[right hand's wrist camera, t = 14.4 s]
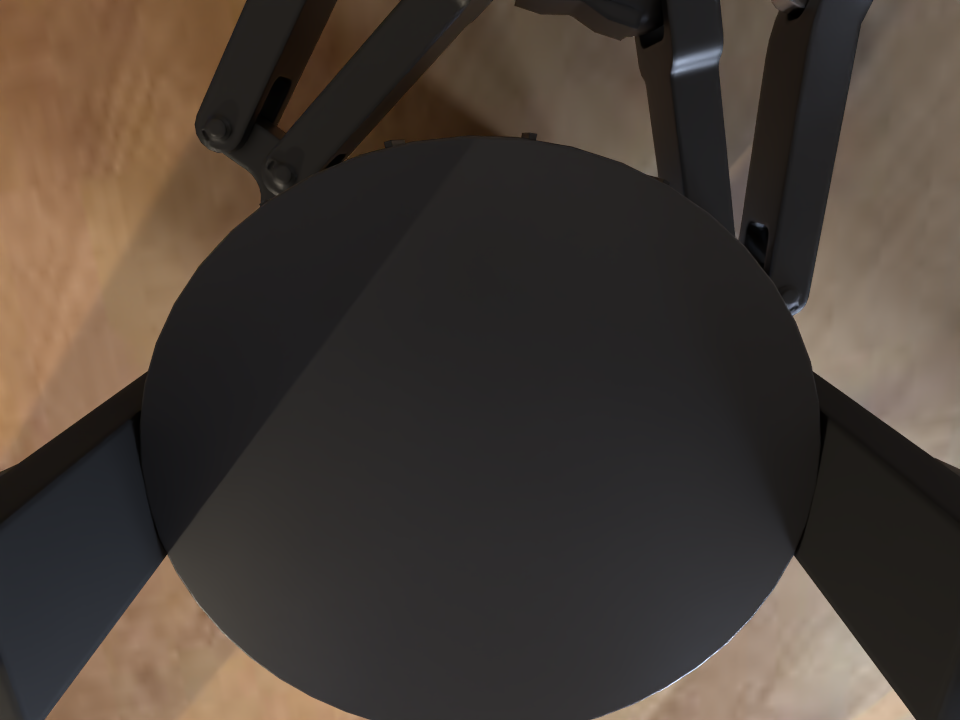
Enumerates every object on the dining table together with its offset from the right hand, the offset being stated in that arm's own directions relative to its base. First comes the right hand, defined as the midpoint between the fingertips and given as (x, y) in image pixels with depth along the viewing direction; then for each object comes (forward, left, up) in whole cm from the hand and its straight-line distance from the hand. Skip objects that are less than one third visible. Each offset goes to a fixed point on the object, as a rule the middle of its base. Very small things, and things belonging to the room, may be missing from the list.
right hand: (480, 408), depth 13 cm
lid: (0, 0, +3) cm, 3 cm away
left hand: (-2, +4, -6) cm, 8 cm away
